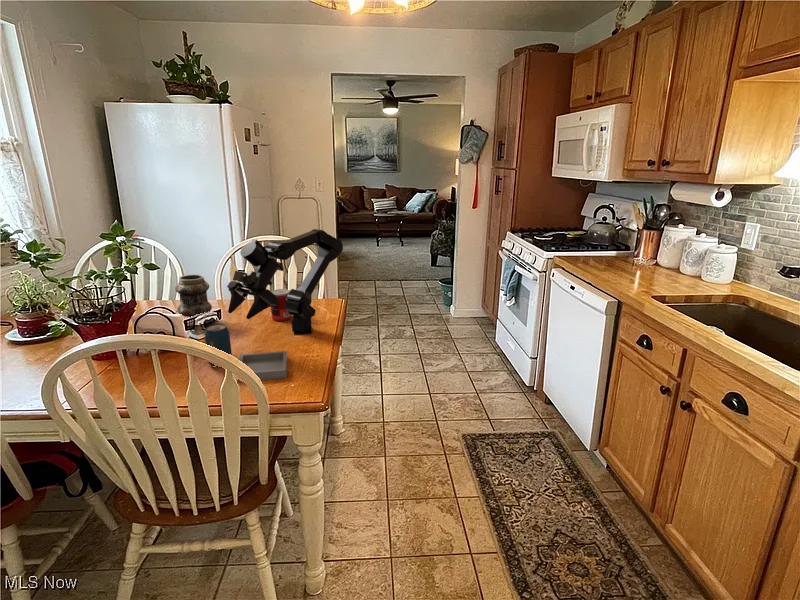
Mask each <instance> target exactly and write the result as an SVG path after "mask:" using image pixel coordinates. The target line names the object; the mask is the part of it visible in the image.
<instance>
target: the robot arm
mask: <svg viewBox="0 0 800 600" xmlns="http://www.w3.org/2000/svg"><path fill="white" fill-rule="evenodd" d="M311 245H316V246H317V247H318V248H317V257H316V258H315V260H314V262H313V264H312V265H311V267H310V269H309V271H308V272H307V273H306V275H305V277H304V279H303V281H302V282H301V284H300V286H299V287H298V288H296V289H295V288H291V289H289V290H290V292H289V294H288V296H287V297H286V298H287V299H286V301H285V307H286V309H287V310H288V313H289V314H290V315H292V317H291V330H292V332H293V334H294V335H304V334H305V335H306V334H307V335H308V334H313V329H312V328H313V327H312V318H313V317H314V316H315V314H316V312H317V311H316V309H315V308H314V307H313V306H312V305H311V304H312V294H313V292H314V291H315V289H316V287H317V285H318V284H319V282H320V281H321V278H322V277H323V275H324V274H325V272H326V269H328V267H329V265H330V263H331V262H333V261H334V260H336V259H337V258H338V257H339V256H340V255H341V254H342V252H343V250H344V244H343V242H342V240H341V239H339V238H336V237H334V236H333V235H330V234H329V233H328V232H326V231H325V230H323V229H318V228H313V229H312V230H309V231H307V232H304V233H302V234H300V235H297V236H294V237H292V238H289V239H278V240H271V241H268V244H267V245H264V246H263V245H262V244H261V242H260V241H259V240H258V239H251V241H249V242H248V243H246V244H245V245H244V246H242V247H241V249H240V256H242V257H243V258H244V260H246V261H247V262H248V263H249V264H250V265H252V266H253V267H256V269H255V271H253V270H248V271H247V272H244V271H239V270H234V273H233V277H232V280H231V281H230V282H228V284H227V286H226V287H227V288H228V291H229V292H230V301H229V305H228V309H227V312H228V314H229V315H230V314H232V313H233V312H235V310H236V309H237V308H239V306H240V305H241V304H243V302H245V300H246V298H247V297H248V296H249V295H250V296H253V303H252V304H251V307H250V308H249V310H248V312H247V314H246V319H247V320H250V319H251V318H253V317H255V316H256V315H258V314H259V313H261V312H263V311H264V310H266V309H268V308H271V305H274V306H275V304H276V303H277V301H278V299H277V296H276V295H274V294H273V293H272V292H271V291H272V290H269V289H267V287H268V286H272V285H273V282H272V279H273V278H274V276H275V274H276V272H277V271H280V272H284V270H285V269H284V266H283V262H280V261H277V260H281V261H286V260H288V259H290V258H291V257H293V256H294V254H296V252H298V251H299V250H301V249H305V248H306V247H310V246H311Z"/></svg>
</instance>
